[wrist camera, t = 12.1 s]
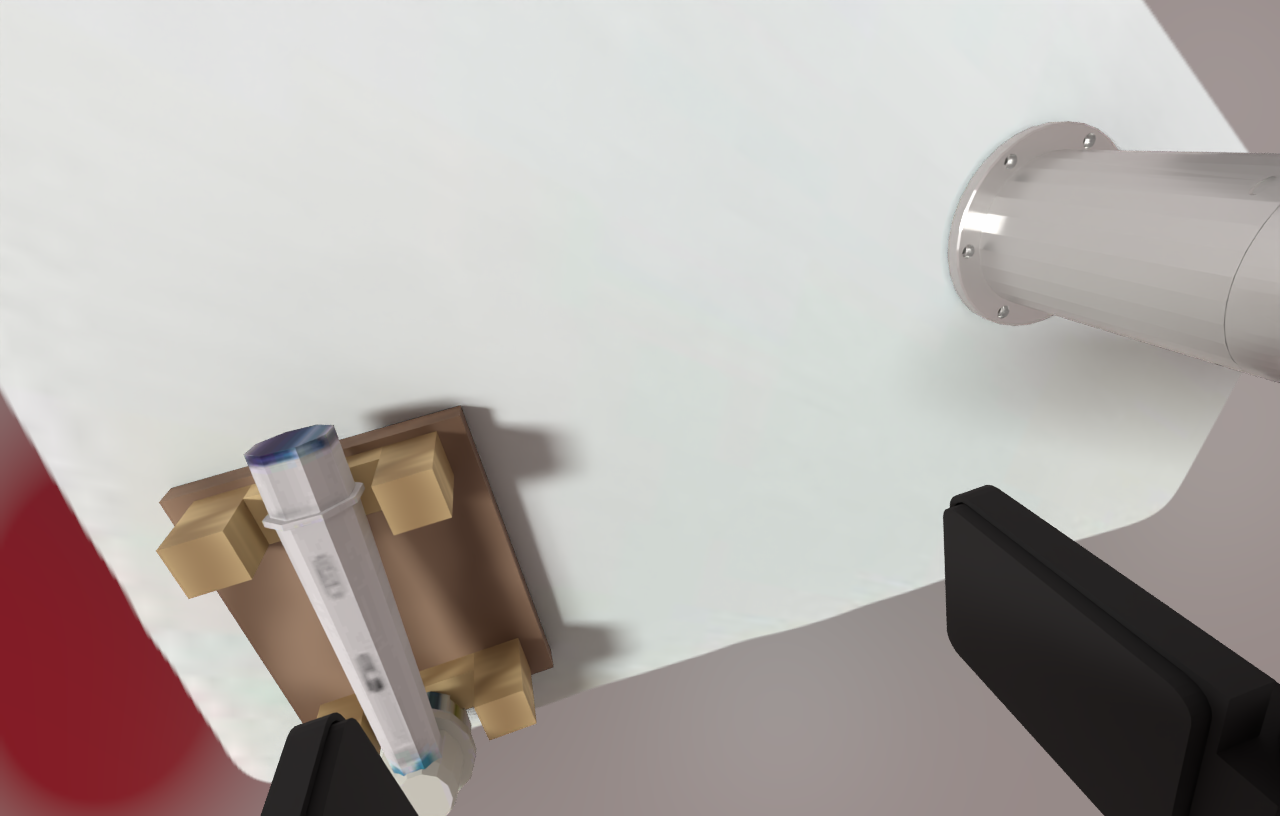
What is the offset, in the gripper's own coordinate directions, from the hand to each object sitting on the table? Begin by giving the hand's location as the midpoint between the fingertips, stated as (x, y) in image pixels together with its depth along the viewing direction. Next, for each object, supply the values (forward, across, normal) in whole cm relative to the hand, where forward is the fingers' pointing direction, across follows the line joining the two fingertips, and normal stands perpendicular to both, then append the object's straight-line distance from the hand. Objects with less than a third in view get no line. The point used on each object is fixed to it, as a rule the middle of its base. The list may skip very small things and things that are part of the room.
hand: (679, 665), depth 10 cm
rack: (+28, +15, +15) cm, 35 cm away
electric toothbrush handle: (+25, +15, +15) cm, 33 cm away
